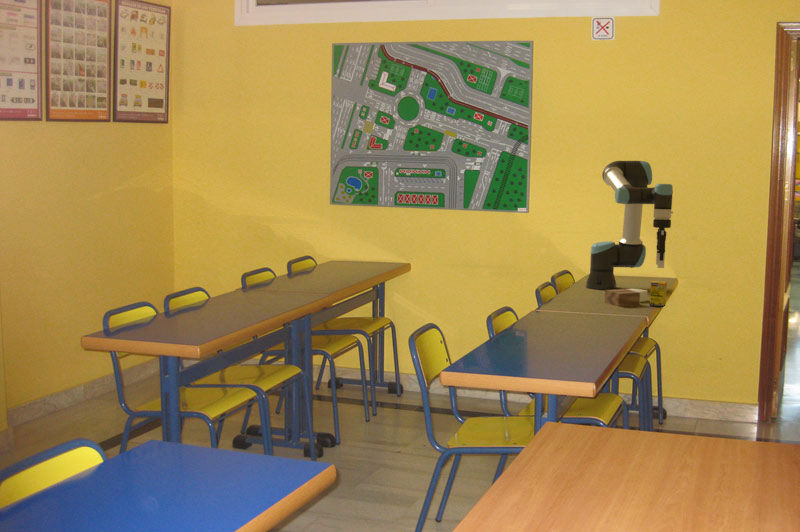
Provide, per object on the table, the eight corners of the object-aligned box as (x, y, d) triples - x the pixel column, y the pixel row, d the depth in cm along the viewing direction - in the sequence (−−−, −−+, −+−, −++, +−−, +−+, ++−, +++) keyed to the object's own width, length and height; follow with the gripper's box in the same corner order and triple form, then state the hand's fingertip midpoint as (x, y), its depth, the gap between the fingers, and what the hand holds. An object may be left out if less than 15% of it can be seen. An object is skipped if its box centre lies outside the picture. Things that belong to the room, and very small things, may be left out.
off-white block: (622, 300, 403) (623, 289, 402) (632, 298, 408) (632, 288, 408) (637, 302, 397) (638, 292, 397) (646, 301, 403) (647, 290, 402)
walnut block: (604, 302, 396) (605, 290, 395) (624, 301, 400) (625, 289, 399) (618, 306, 386) (619, 293, 385) (639, 305, 389) (639, 292, 389)
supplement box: (649, 306, 387) (650, 282, 386) (652, 304, 392) (653, 280, 391) (663, 307, 384) (664, 283, 383) (665, 305, 390) (667, 281, 388)
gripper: (673, 220, 370) (670, 269, 373) (669, 217, 394) (666, 263, 397) (654, 220, 372) (652, 269, 375) (652, 216, 396) (649, 262, 399)
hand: (659, 266), depth 386 cm, fingers open, 13 cm apart
